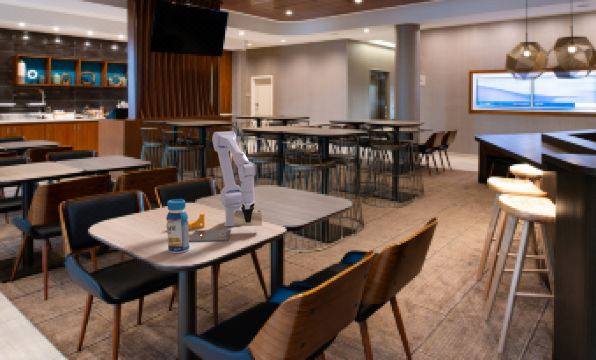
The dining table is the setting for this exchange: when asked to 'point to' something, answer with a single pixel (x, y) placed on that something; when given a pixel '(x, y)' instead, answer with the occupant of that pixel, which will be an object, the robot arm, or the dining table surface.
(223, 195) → the robot arm
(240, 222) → the spacer bar
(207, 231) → the bolt plate
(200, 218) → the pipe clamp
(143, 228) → the dining table surface
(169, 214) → the beverage bottle
